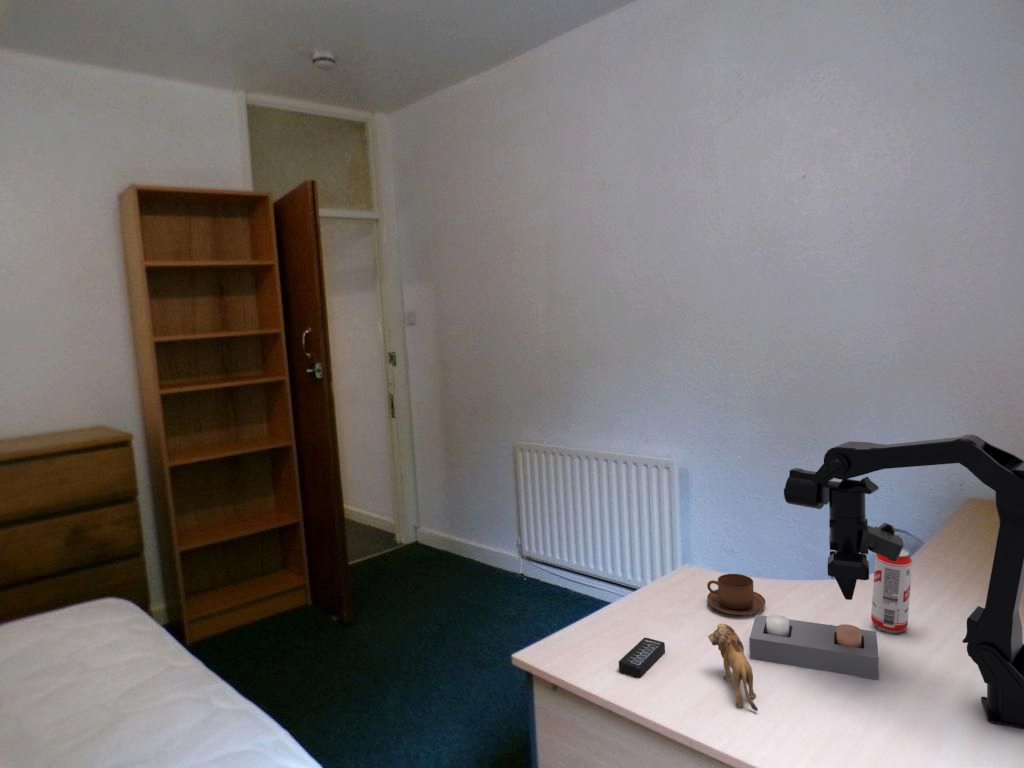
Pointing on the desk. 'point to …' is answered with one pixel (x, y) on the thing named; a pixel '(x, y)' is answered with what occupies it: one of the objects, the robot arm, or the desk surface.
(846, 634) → the terracotta plug
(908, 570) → the beer can
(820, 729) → the desk surface
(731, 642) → the lion figurine
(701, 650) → the desk surface
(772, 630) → the grey piece
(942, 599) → the desk surface
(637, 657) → the multiport hub
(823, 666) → the plug block
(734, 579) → the cup and saucer
